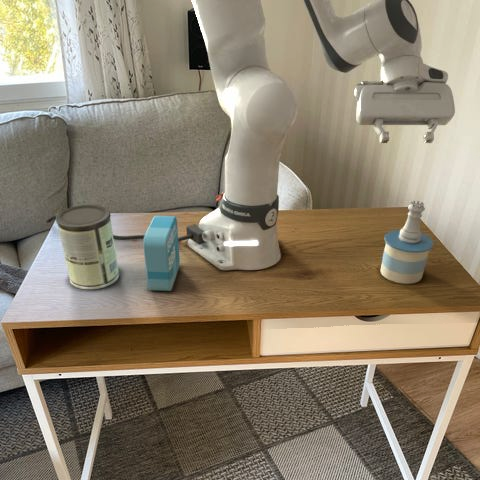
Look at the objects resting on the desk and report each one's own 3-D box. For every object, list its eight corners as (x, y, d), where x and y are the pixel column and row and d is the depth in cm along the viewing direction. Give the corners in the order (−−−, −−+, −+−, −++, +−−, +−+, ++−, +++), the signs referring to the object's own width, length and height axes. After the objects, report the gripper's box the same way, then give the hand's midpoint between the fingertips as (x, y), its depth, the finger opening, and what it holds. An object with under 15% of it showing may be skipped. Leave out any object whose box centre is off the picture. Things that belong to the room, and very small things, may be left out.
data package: (170, 294, 101) (166, 240, 94) (148, 293, 101) (142, 239, 94) (180, 264, 110) (176, 213, 103) (159, 263, 110) (155, 213, 103)
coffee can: (71, 267, 109) (58, 205, 101) (119, 263, 110) (111, 203, 102) (66, 292, 101) (52, 227, 92) (118, 288, 102) (109, 224, 94)
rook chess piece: (394, 240, 103) (402, 204, 99) (402, 233, 106) (410, 197, 102) (415, 246, 101) (424, 209, 97) (423, 238, 104) (432, 202, 100)
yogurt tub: (369, 273, 108) (375, 240, 104) (392, 257, 114) (399, 225, 109) (411, 290, 103) (419, 255, 98) (432, 272, 109) (441, 239, 104)
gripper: (358, 71, 103) (361, 133, 101) (455, 72, 104) (461, 134, 102) (350, 90, 110) (353, 149, 107) (442, 91, 110) (447, 149, 108)
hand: (406, 141), depth 105 cm, fingers open, 8 cm apart
